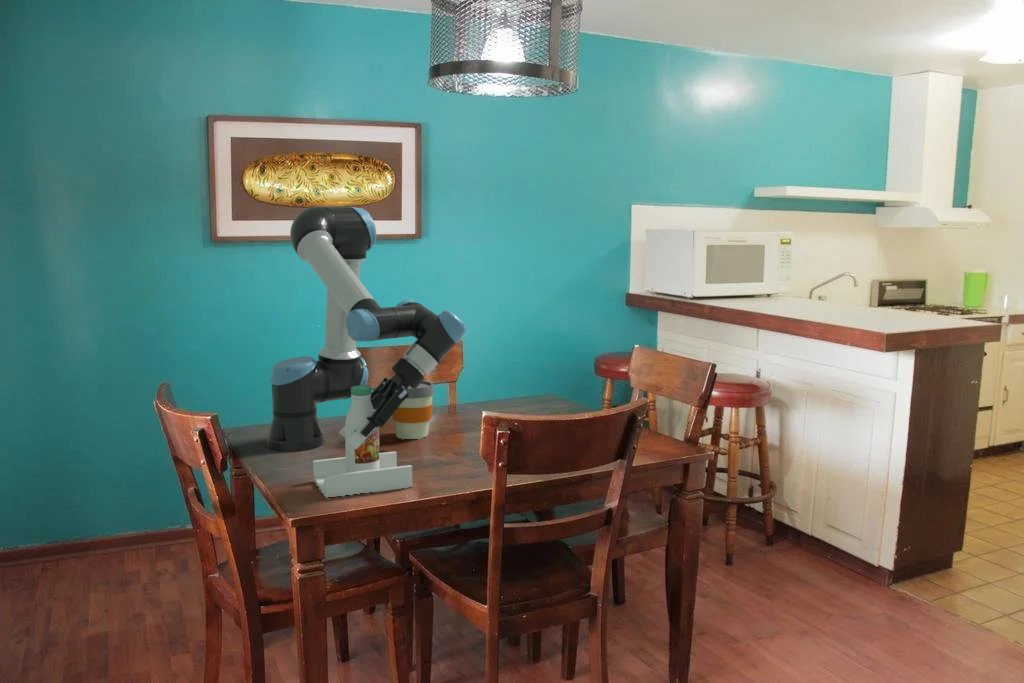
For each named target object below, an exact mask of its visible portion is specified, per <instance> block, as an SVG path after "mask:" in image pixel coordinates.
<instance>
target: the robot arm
mask: <svg viewBox="0 0 1024 683" xmlns="http://www.w3.org/2000/svg"><path fill="white" fill-rule="evenodd" d="M289 235H290V237H289V238H290V242H291V246H292V248H293V249H294V251H295V253H296V254H297V256H298V257H299V258H300V259H301V260H302V261H303V262H308V264H309V265H310V267H311V268H312V270H313V271H314V272H315V273H316V275H317V276H318V278H319V279H320V281H321V282H322V283H323V285H325V287H326V304H325V305H326V306H325V323H324V324H325V326H324V346H323V347H322V348H321V349H319V350H318V358H317V360H316V359H315V357H313V356H305V355H304V356H299V357H297V356H294V357H289V358H285V359H282V360H280V361H277V362H276V363H275V364H274V365H273V366H272V368H271V380H270V384H271V400H272V401H271V402H272V419H271V423H270V427H269V430H268V432H267V433H268V434H267V437H266V446H267V447H268V448H270V449H272V450H276V451H282V452H283V451H285V452H287V451H289V452H290V451H291V452H295V451H305V450H310V449H311V450H312V449H314V448H315V449H316V448H317V447H320V446H322V445H324V443H325V435H324V431H323V427H322V426H321V423H320V420H319V417H318V413H317V411H318V410H317V408H318V407H317V404H318V403H319V404H320V403H327V402H332V401H339V400H348V399H352V397H351V387H353V386H358V385H367V384H368V380H369V369H368V368H367V367H368V366H367V363H366V360H365V359H364V358H363V357H361V355H362V354H361V352H360V351H359V350H358V349H357V344H356V343H357V342H374V341H381V340H389V339H401V338H408V337H411V338H412V337H413V338H415V339H416V340H415V341H414V342H413V343H412V344H411V345H410V347H408V348H407V350H406V351H405V352H404V353H403V357H400V358H399V359H398V360H397V361H396V362H395V363H394V365H392V367H391V370H392V372H394V375H393V376H392V377H391V378H388V377H384V378H383V379H382V381H381V382H380V383H379V384H378V385H377V386H376V388H374V390H372V391H371V396H370V399H371V403H372V406H373V408H374V410H375V412H374V413H373V415H372V416H371V417H367V420H366V421H365V422H364V423H363V424H362V425H361V426H360V428H359V429H358V430H357V431H356V432H355V433H354V434H353V435H352V436H351V438H350V439H349V440H348V441H347V442H348V443H350V444H351V445H352V446H353V447H354V448H355V449H357V448H358V447H359V446H360V445H361V444H362V443H363V442H364V441H365V439H366V438H367V437H368V436H369V435H370V434H371V433H372V432H373V430H374V429H375V428H376V427H379V428H382V427H384V425H385V424H386V423H387V422H388V420H389V419H390V418H391V417H392V414H393V413H394V412H395V410H396V409H397V408H398V407H399V405H400V404H401V403H402V402H403V401H404V400H405V399H406V398H407V397H408V396H409V393H408V392H407V391H406V390H407V388H408V387H409V386H410V387H411V388H413V389H416V388H417V387H418V386H419V385H420V384H421V383H422V381H425V376H429V375H430V373H431V372H433V371H435V370H436V367H437V366H438V364H439V363H441V361H442V360H443V359H444V358H445V356H446V355H447V354H448V353H449V352H450V351H451V350H452V349H453V348H454V347H455V346H456V345H457V344H458V343H459V342H460V340H461V338H462V337H463V336H464V335H465V333H466V331H467V328H466V327H467V326H466V325H465V323H463V321H462V320H461V319H460V318H459V317H458V316H457V315H456V314H454V313H453V312H451V311H450V310H447V309H446V310H445V309H444V310H443V311H442V312H441V313H439V314H436V313H434V312H433V311H431V310H430V309H429V308H428V307H426V306H424V305H423V304H421V303H419V302H417V301H415V300H413V299H409V298H408V299H404V300H402V301H401V302H398V303H397V305H396V306H390V307H389V306H387V307H381V306H380V304H379V303H378V302H377V301H376V300H375V299H374V297H373V296H372V295H371V293H370V291H368V289H367V288H366V286H365V285H364V284H363V283H362V281H361V280H360V275H361V274H360V273H361V272H360V270H361V264H362V263H363V262H364V261H365V260H367V251H370V250H371V249H373V248H374V247H375V244H376V241H377V228H376V224H375V222H374V219H373V218H372V215H371V214H370V213H369V212H368V211H367V210H365V208H360V207H355V206H320V205H319V206H318V205H317V206H312V207H307V208H305V209H303V210H302V211H300V212H299V213H298V214H297V215H296V216H295V218H294V219H293V222H292V223H291V227H290V234H289ZM367 386H368V385H367ZM368 420H369V421H370V422H369V421H368ZM338 433H339V434H340V435H341V436H342V437H343V438H345V425H344V426H343V427H342V428H341V429H340V431H339V432H338Z"/></svg>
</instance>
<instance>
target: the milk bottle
mask: <svg viewBox="0 0 1024 683" xmlns="http://www.w3.org/2000/svg"><path fill="white" fill-rule="evenodd" d="M371 393H372V387H371V386H370V385H358V386H353V387H351V403H350V404H351V405H350V407H349V410H348V412H347V414H346V416H345V417H346V418H345V422H344V426H345V440H344V441H345V442H344V443H345V444H344V445H345V448H344V450H345V457H346V470H347V472H356V471H365V470H373V469H379V465H380V462H379V451H380V432H379V431H380V430H379V429H380V426H379V427H376V428H375V429H374V430H373V432H372V433H371V434H370V435H369V436H368V437H367V438H366V439H365V441H364V442H363V443H362V444H361V445H360V446H359V447H358V448H357V449H355V448H354V447H353V446H352V445H351V444H350V443H348V442H347V441H348V440H349V439H350V438H351V436H352V435H353V434H354V433H355V432H356V431H357V430H358V429H359V428H360V426H361V425H362V424H363V423H364V422H365V421H366V420H367V417H371V416H372V415H373V413H374V412H375V410H374V408H373V406H372V403H371V399H370V396H371ZM368 421H369V420H368ZM369 422H370V421H369Z"/></svg>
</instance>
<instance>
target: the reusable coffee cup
mask: <svg viewBox="0 0 1024 683" xmlns="http://www.w3.org/2000/svg"><path fill="white" fill-rule="evenodd" d="M406 391H407V392H408V393H409V396H408V397H407V398H406V399H405V400H404V401H403V402H402V403H401V404H400V405H399V407H398V408H397V409H396V410H395V412H394V413H393V414H392V415H391V417H392V420H393V422H394V428H395V436H396V438H397V437H398V439H400V438H401V440H404V439H418V440H422V439H421V438H423V437H426V436H427V435H428V436H429V429H430V422H431V420H432V417H433V415H432V414H433V410H434V409H433V408H434V403H433V396H434V394H435V392H434V391H435V390H434V383H433V382H430V381H426V380H423V381H422V383H421V384H420V385H419V386H418V387H417V388H416V389H413V388H411V387H410V386H409V387H408V388H407V390H406ZM428 436H427V437H428ZM427 437H426V438H427ZM423 439H424V438H423Z"/></svg>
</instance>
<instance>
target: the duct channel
mask: <svg viewBox="0 0 1024 683" xmlns="http://www.w3.org/2000/svg"><path fill="white" fill-rule="evenodd" d="M397 457H398V453H397V451H387V452H385V453H379V462H380V465H379V469H373V470H365V471H356V472H347V470H346V456H343V457H334V458H333V457H332V458H326V459H325V458H324V459H316V460H312V468H313V469H312V470H313V475H312V476H313V483H316V484H315V486H318V487H319V488H318V487H317V488H318V489H319V491H320V490H321V491H320V493H321V494H322V493H323V494H324V495H323V494H322V495H323V497H324V496H325V497H326V498H327V497H335V496H342V497H346V496H345V495H350V496H354V495H353V494H358V495H361V494H360V493H365V494H371V493H370V492H373V493H379V492H386V491H387V492H388V491H395V490H402V488H403V489H409V487H411V488H413V465H411V464H408V465H400V466H398V461H397V460H398V458H397ZM325 497H324V498H325ZM326 498H325V499H326ZM335 498H336V497H335ZM327 499H328V498H327Z"/></svg>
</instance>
